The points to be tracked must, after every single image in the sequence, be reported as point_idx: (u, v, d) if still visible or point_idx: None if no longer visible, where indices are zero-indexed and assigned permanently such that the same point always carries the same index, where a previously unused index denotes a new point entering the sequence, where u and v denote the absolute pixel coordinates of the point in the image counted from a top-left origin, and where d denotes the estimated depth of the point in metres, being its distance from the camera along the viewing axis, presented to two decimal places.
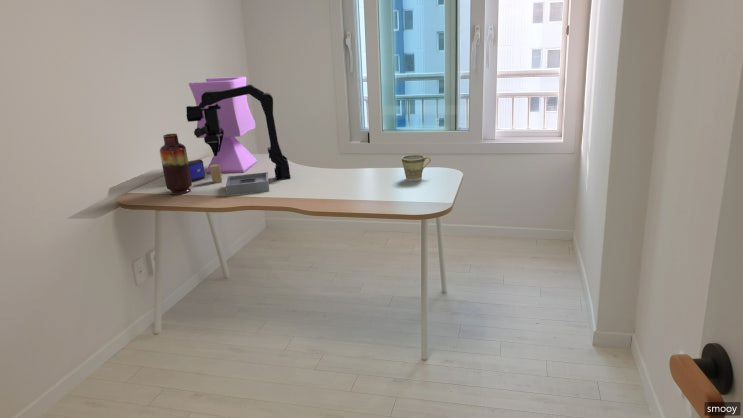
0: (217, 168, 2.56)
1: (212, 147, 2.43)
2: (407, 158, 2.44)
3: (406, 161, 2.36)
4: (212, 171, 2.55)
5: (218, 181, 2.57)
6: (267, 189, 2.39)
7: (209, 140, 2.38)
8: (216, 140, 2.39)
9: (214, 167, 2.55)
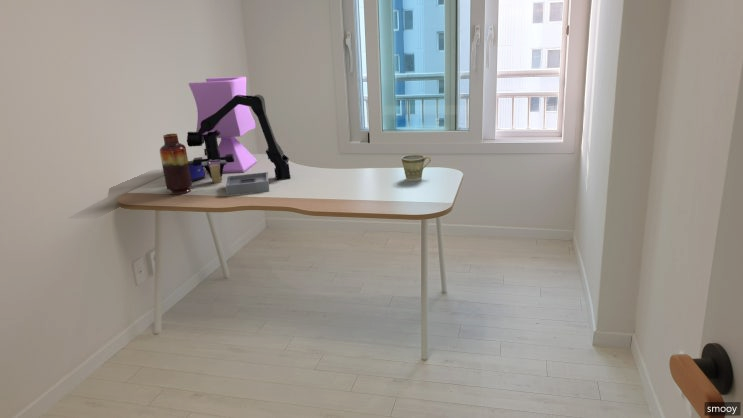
0: (217, 168, 2.56)
1: None
2: (407, 158, 2.44)
3: (406, 161, 2.36)
4: (212, 171, 2.55)
5: (218, 181, 2.57)
6: (267, 189, 2.39)
7: None
8: (193, 164, 2.53)
9: (214, 167, 2.55)
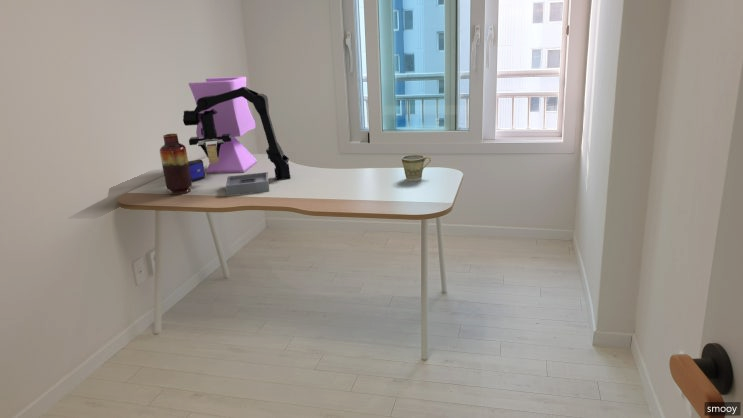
0: (214, 148, 2.52)
1: None
2: (407, 158, 2.44)
3: (406, 161, 2.36)
4: (209, 151, 2.52)
5: (215, 161, 2.54)
6: (267, 189, 2.39)
7: None
8: None
9: (211, 146, 2.52)
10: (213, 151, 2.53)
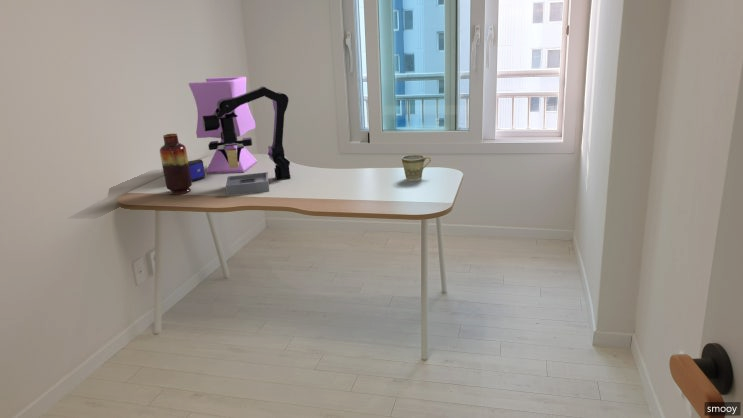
0: (234, 152, 2.44)
1: None
2: (407, 158, 2.44)
3: (406, 161, 2.36)
4: (229, 155, 2.44)
5: (235, 166, 2.46)
6: (267, 189, 2.39)
7: None
8: (209, 148, 2.41)
9: (231, 151, 2.43)
10: (233, 156, 2.44)
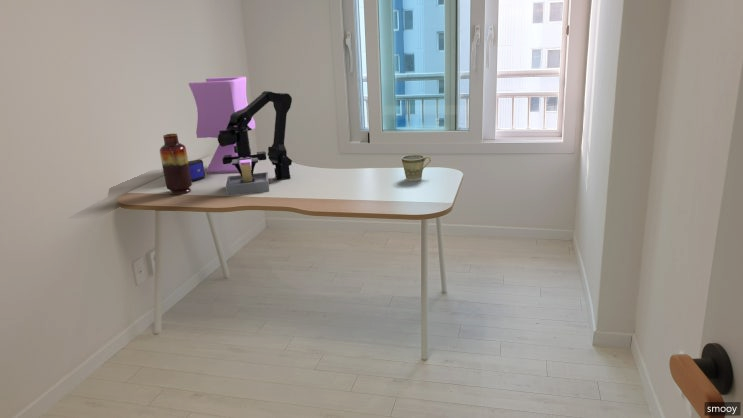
0: (248, 166, 2.40)
1: None
2: (407, 158, 2.44)
3: (406, 161, 2.36)
4: (243, 169, 2.40)
5: (249, 180, 2.42)
6: (267, 189, 2.39)
7: None
8: None
9: (245, 165, 2.40)
10: (247, 170, 2.40)
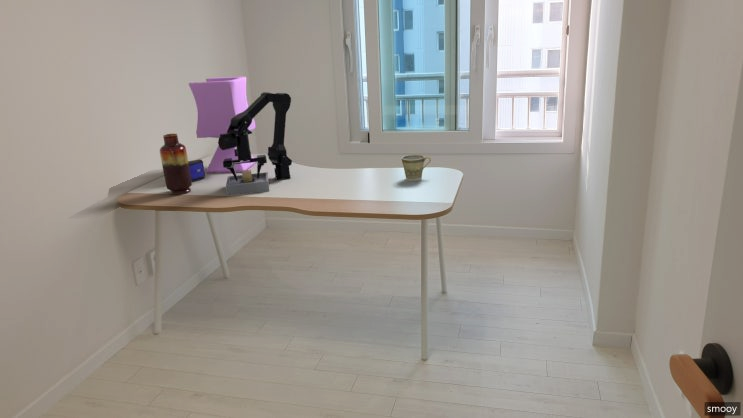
0: (249, 174, 2.41)
1: None
2: (407, 158, 2.44)
3: (406, 161, 2.36)
4: (244, 177, 2.41)
5: None
6: (267, 189, 2.39)
7: None
8: (223, 166, 2.38)
9: (246, 173, 2.41)
10: (248, 178, 2.42)
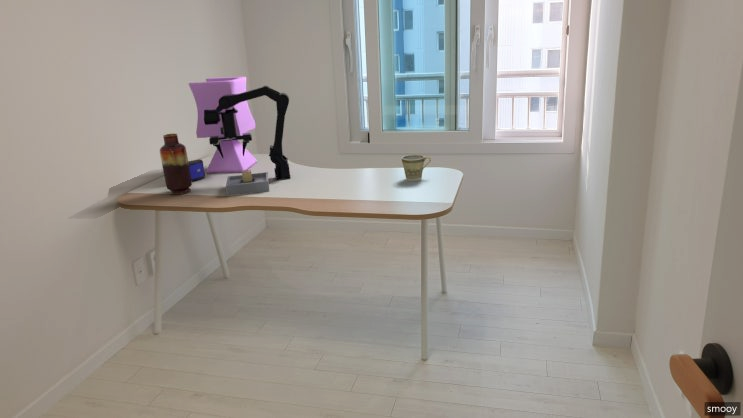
0: (249, 174, 2.41)
1: None
2: (407, 158, 2.44)
3: (406, 161, 2.36)
4: (244, 177, 2.41)
5: None
6: (267, 189, 2.39)
7: None
8: None
9: (246, 173, 2.41)
10: (248, 178, 2.42)
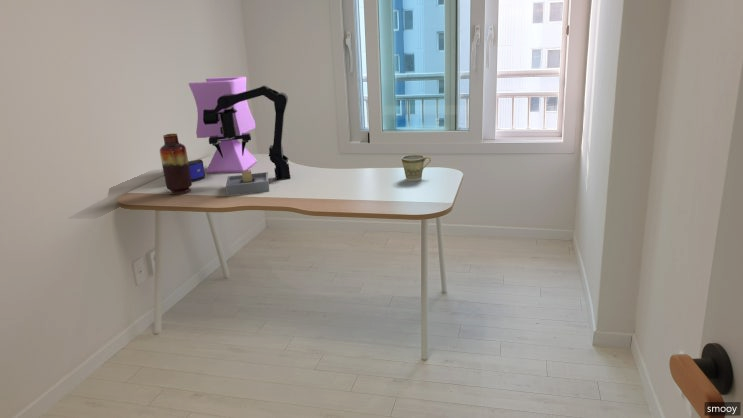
0: (249, 174, 2.41)
1: None
2: (407, 158, 2.44)
3: (406, 161, 2.36)
4: (244, 177, 2.41)
5: None
6: (267, 189, 2.39)
7: None
8: (209, 142, 2.48)
9: (246, 173, 2.41)
10: (248, 178, 2.42)
